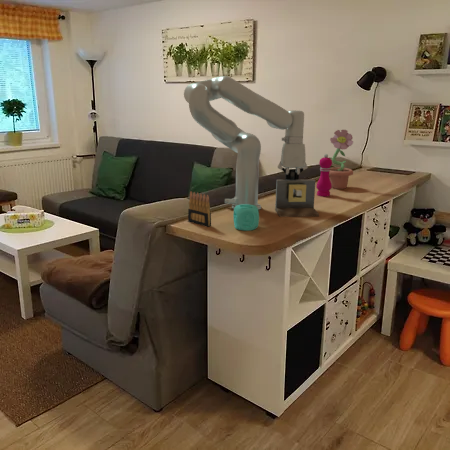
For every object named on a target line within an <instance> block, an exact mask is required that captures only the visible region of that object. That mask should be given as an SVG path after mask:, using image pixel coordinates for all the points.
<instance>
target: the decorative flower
mask: <svg viewBox="0 0 450 450" xmlns="http://www.w3.org/2000/svg"><path fill="white" fill-rule="evenodd" d="M333 134H334V135H333V137H330V139H329V140H330V143H331V144H333V147H334V148H336V150H335V152H334V154H333V155H332V157H329V158H330V159H331V160H332V164H334V165H337V166H340V167H330V168H331V169H330V172H329V178H330V181H331V184H332V188H331V189H335V190H342V189H343V190H344V189H346V188H347V187H348V183H349V177H350V176H353V175H354V171H353V169H351V168H347V167H345V164H344V163H346V162H347V160H343V161H342V162H341V161H337V156H338V155H339V153H340V155H341V156H343V157H346V154H345V152H344V150H347V149H348V148H349V147H352V145H353V144H354V141H353V135H352V133H349V131H348V130H347V129H337V130H335V131H334V133H333Z"/></svg>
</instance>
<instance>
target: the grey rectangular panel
mask: <svg viewBox="0 0 450 450" xmlns="http://www.w3.org/2000/svg"><path fill="white" fill-rule="evenodd" d="M289 184H306V200H305V202H288V189H289ZM300 190H301V189H300ZM315 193H316V180H315V179H299V180H285V179H276V184H275V207H276V208H314V209H315ZM293 197H301V196H296V195H295V194H294V192H293Z"/></svg>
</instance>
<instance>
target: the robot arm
mask: <svg viewBox="0 0 450 450" xmlns="http://www.w3.org/2000/svg"><path fill="white" fill-rule="evenodd" d="M183 98H184V100H185V101H186V103H188V106H189V107H188V109H189V112H190V114H191V117H192V119H194V121H195V122H196V123H197V124H198V125H199V126H200V127H202V128H203V129H205V131H207V132H209V133H210V134H211V136H212V137H213V138H214V139H215V141H216V140H217V141H218V142H219V143H221V144H222V145H224V146H226V147H227V148H228V149H230V151H231V150H232V151H233V152H234V153H237V155H236V164H235V196H234V197H232V198H224V204H228V205H231V209H233V210H234V208H235V207H236V206H237V205H241V204H250V205H255V206H256V207H257V208H258V211H260V210H261V209H262V205H261V204H260V203H258V202H259V201H258V198H259V173H260V172H259V169H260V167H259V166H260V157H261V150H262V144H261V141H260V139H259V138H258V137H257V135H255V134H253V133H249V132H247V131H244V130H243V129H241V128H240V127H238V125H237V124H236V123H235V121H233V120H232V119H230V118H228V117H226V116H225V115H224V114H222V113H221V112H219V111H218V110H217V109H215V108H214V107H213V106H212V105H211V101H215V100H218V99H223V100H224V101H226V102H228V103H230V104H232V106H234V107H236V108H237V109H240V110H241V111H242V112H245V113H247V114H248V115H253V116H255V117H258V118H260V119H262V120H264V121H266V124H267V125H268V127H271V128H273V129H278V130H283V131H284V130H285V133H284V135H285V136H284V137H281V141H282V142H284V143H283V145H282V149H281V154H280V156H281V157H280V161H279V163H278V165H277V169H279V170H280V171H282V172H283V173H284V174H285V175H284V176H285V177H284V180H289V178H290V175H289V169H296V174H295V180H300V179H299V178H300V175H301V173H302V172H303V171H305V170H307V169H308V168H309V166H308V165H307V162H306V157H307V156H306V144H305V143H304V126H305V124H304V123H305V113H304V111H302V110H297V109H296V110H293V109H292V110H287V109H285V108H283V107H281V105H278V104H276V103H275V102H274V101H271V100H270V99H268V98H266V97H264V96H263V95H260V94H258V93H257V92H255V91H253V90H251V89H250V88H248V87H247V86H245V85H244V84H242V83H240V82H239V81H237V80H235V79H234V78H232V77H230V76H228V75H221V76H217V77H214V78H210V79H206V80H205V79H204V80H201V81H198V82H193V83H190V84H188V85H187V86H186V87H185V89H184V90H183Z"/></svg>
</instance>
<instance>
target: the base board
mask: <svg viewBox="0 0 450 450" xmlns="http://www.w3.org/2000/svg"><path fill="white" fill-rule="evenodd" d="M274 211H275V212H276V213H277V215H278V216H279V217H285V218H286V217H287V218H288V217H296V218H297V217H319V216H320V213H319V212H318V211H317V210H316V209H315V207H314V208H276V207H275V208H274Z"/></svg>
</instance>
